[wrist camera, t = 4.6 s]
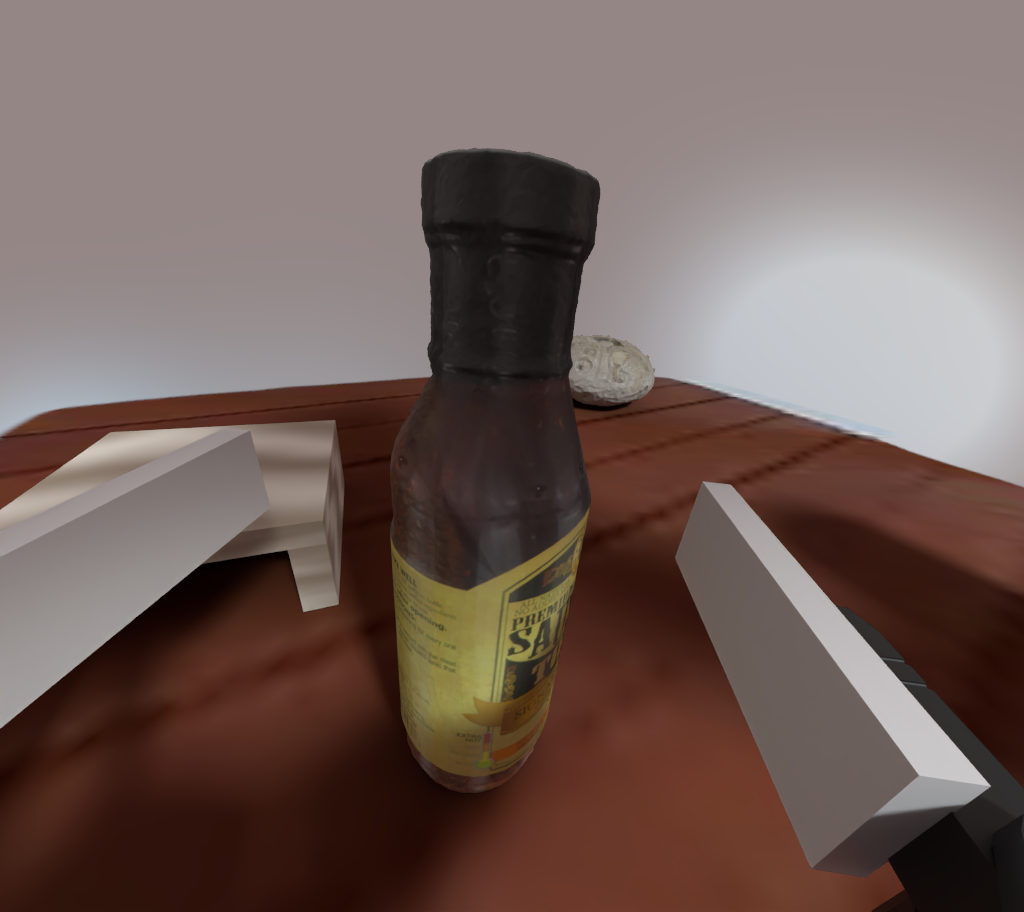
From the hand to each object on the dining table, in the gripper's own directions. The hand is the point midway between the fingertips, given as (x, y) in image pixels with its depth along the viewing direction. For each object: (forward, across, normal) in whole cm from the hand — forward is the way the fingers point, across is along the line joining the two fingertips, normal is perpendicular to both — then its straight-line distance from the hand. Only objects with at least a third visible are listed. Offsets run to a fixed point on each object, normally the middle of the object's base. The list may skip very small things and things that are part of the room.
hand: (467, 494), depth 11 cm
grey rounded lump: (+52, +11, -12) cm, 54 cm away
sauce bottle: (0, +1, -12) cm, 12 cm away
